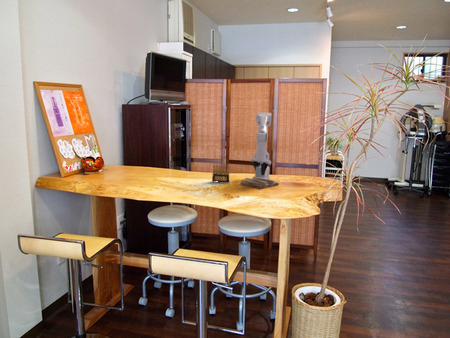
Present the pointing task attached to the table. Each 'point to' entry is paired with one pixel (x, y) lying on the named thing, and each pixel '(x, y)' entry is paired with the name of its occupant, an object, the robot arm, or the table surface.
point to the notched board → (259, 182)
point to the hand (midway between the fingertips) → (260, 174)
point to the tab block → (258, 172)
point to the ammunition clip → (220, 173)
